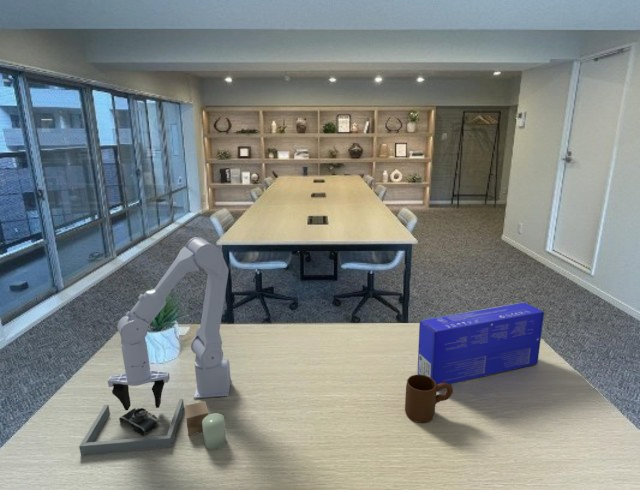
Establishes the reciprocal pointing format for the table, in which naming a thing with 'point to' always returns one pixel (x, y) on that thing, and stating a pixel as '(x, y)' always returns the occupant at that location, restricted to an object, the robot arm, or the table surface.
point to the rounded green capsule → (214, 431)
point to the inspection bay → (127, 444)
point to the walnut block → (195, 417)
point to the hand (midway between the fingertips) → (143, 406)
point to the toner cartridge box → (479, 342)
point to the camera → (140, 420)
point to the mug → (424, 397)
